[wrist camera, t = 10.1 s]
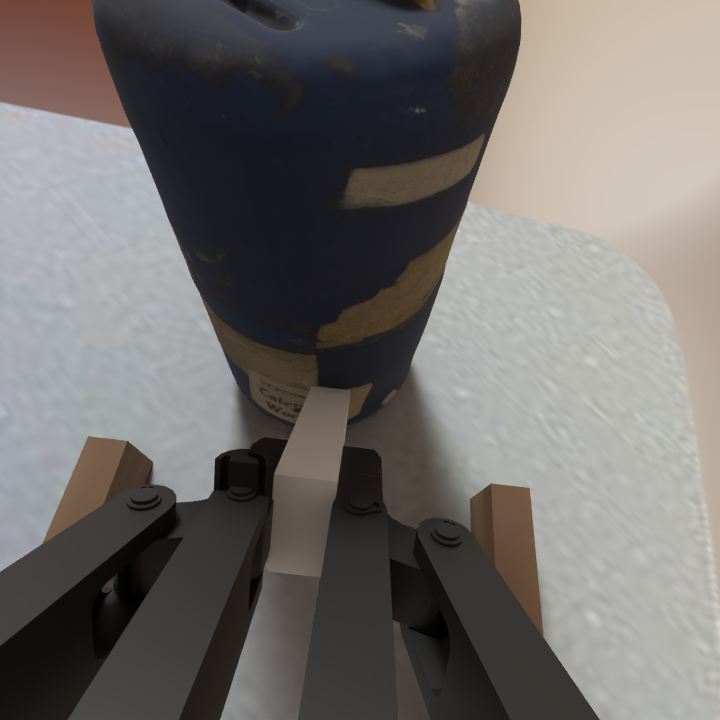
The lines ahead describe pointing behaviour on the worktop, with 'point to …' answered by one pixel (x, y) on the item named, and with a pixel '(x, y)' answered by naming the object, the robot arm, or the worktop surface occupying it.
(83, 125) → the worktop surface
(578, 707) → the robot arm
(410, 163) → the canister
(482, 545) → the walnut chute
